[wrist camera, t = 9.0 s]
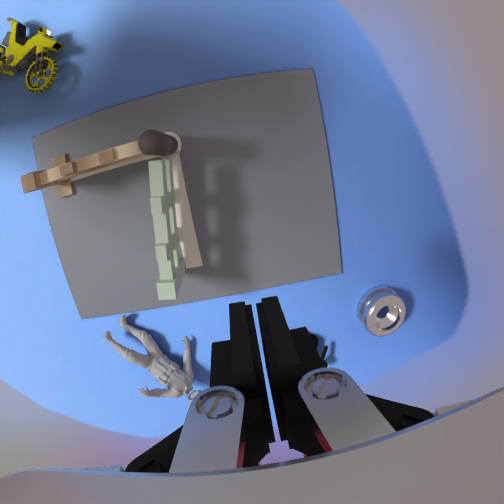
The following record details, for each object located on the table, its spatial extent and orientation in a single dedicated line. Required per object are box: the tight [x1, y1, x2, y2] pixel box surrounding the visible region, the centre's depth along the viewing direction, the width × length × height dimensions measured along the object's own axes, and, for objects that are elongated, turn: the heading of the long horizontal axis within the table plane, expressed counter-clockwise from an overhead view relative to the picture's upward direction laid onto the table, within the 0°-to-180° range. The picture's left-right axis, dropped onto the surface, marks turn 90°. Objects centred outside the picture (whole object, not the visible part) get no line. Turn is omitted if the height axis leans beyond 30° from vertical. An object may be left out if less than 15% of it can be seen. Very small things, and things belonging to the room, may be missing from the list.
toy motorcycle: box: [0, 18, 63, 93], centre depth 20 cm, size 12×4×7 cm
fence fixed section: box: [21, 129, 178, 198], centre depth 23 cm, size 13×4×7 cm, turn 100°
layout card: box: [32, 69, 342, 319], centre depth 28 cm, size 20×28×1 cm
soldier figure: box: [103, 315, 201, 406], centre depth 31 cm, size 8×5×12 cm
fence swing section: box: [148, 159, 185, 300], centre depth 25 cm, size 10×1×6 cm, turn 2°
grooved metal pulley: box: [356, 285, 406, 336], centre depth 32 cm, size 5×3×5 cm
